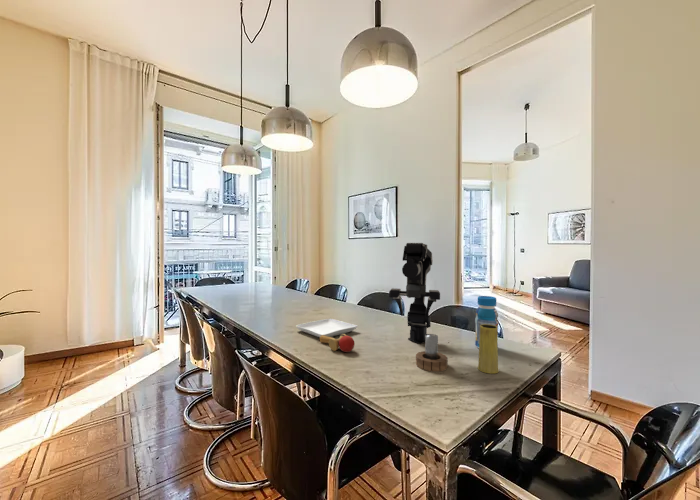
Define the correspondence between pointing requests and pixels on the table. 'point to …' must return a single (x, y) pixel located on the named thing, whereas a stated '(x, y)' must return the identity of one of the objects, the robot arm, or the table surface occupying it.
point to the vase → (488, 349)
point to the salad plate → (326, 327)
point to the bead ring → (431, 362)
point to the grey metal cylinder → (431, 346)
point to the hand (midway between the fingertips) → (414, 316)
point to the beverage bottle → (485, 314)
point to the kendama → (339, 342)
